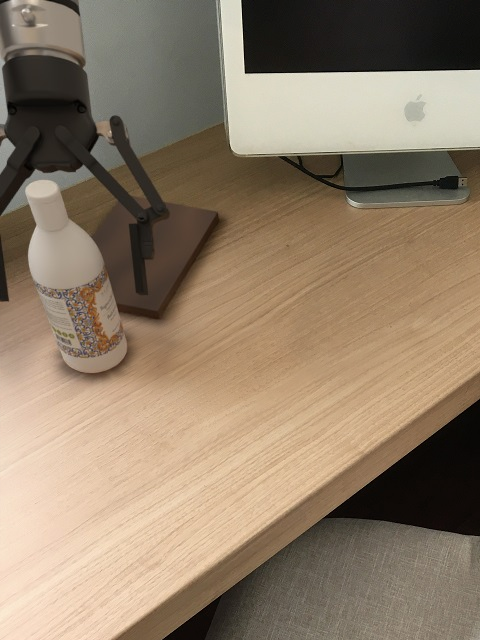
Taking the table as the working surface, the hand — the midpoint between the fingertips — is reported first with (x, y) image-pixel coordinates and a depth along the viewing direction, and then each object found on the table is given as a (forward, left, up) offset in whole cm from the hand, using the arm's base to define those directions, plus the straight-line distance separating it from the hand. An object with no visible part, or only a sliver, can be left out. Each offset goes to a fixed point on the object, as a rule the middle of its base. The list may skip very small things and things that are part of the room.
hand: (72, 297), depth 78 cm
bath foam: (-1, +2, -10) cm, 10 cm away
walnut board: (-3, +19, -9) cm, 21 cm away
